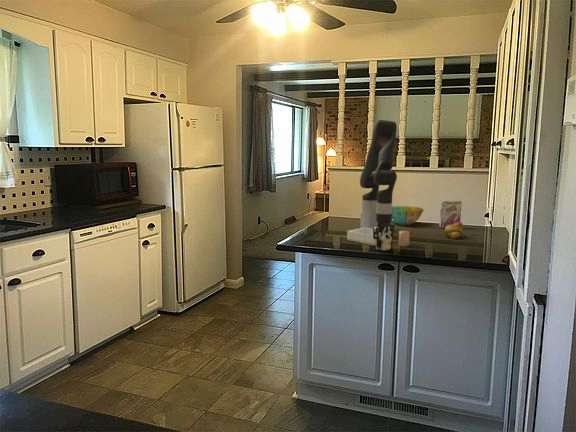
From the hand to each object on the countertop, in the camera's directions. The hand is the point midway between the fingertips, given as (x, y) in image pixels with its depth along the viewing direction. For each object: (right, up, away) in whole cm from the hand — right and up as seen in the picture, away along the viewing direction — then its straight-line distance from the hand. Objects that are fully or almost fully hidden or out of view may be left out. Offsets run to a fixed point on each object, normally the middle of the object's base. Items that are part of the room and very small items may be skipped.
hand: (383, 246), depth 222 cm
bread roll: (+43, +3, +27) cm, 51 cm away
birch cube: (0, -1, 0) cm, 1 cm away
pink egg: (+12, 0, +8) cm, 14 cm away
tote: (-4, +2, +18) cm, 18 cm away
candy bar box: (+51, +7, +54) cm, 74 cm away
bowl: (+27, +9, +66) cm, 72 cm away
